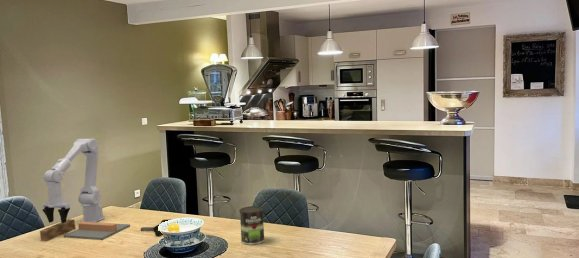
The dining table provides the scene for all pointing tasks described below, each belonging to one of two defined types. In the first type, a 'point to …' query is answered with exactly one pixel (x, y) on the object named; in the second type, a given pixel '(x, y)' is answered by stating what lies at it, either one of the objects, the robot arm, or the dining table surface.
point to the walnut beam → (57, 230)
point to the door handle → (153, 229)
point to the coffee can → (252, 225)
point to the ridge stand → (96, 230)
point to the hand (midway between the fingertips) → (57, 222)
